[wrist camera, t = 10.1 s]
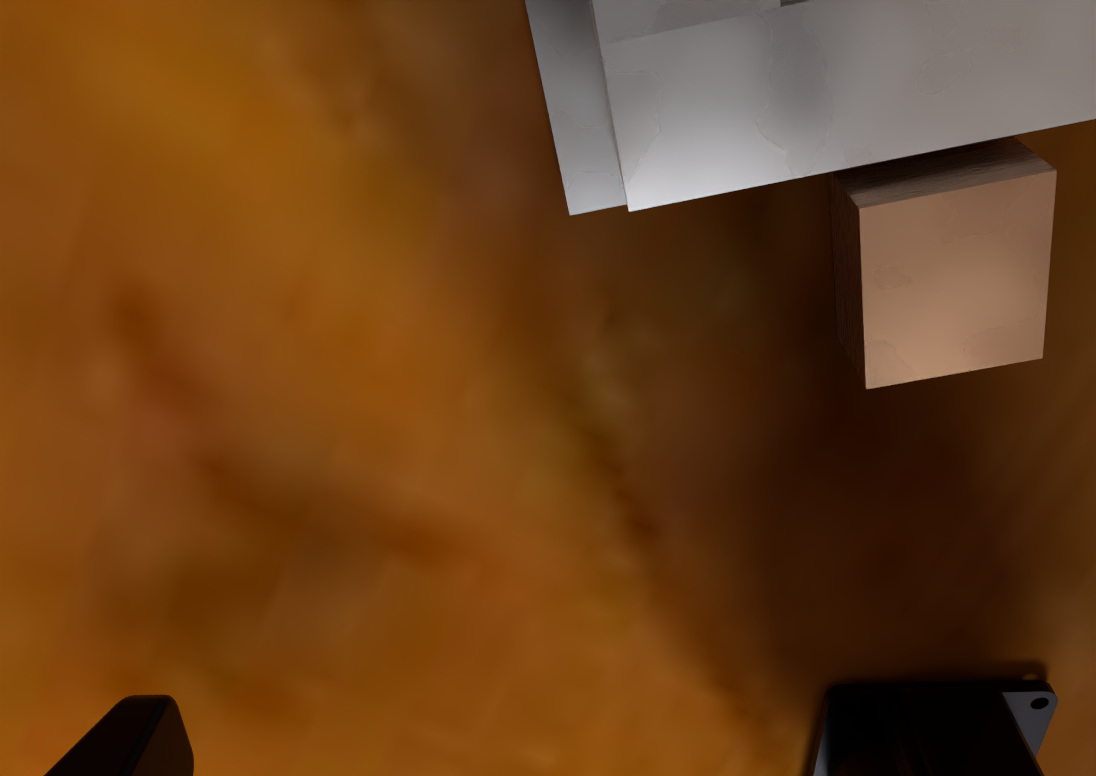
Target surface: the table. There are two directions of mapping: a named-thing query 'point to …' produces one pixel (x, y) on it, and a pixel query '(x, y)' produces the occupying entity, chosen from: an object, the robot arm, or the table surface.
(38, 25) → the table surface
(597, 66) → the grey socket base
